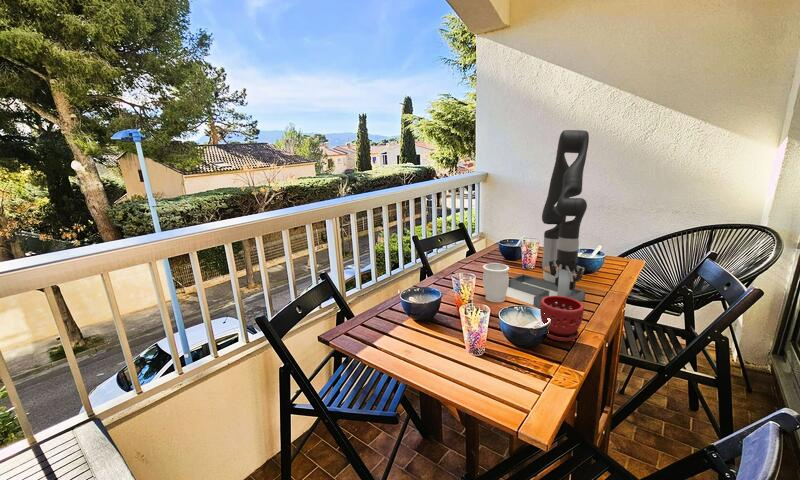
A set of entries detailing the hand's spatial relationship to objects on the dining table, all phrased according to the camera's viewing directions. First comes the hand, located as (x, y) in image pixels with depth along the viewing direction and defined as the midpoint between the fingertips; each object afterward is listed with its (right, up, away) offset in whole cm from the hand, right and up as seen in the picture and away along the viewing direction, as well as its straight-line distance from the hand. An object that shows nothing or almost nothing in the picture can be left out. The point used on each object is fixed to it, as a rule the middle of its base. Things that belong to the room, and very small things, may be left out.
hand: (564, 287), depth 140 cm
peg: (0, -4, +1) cm, 4 cm away
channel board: (-8, -5, +7) cm, 12 cm away
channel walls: (-8, -4, +7) cm, 11 cm away
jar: (-27, -6, +6) cm, 28 cm away
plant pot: (-13, -13, -23) cm, 29 cm away
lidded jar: (+5, -1, +20) cm, 21 cm away
